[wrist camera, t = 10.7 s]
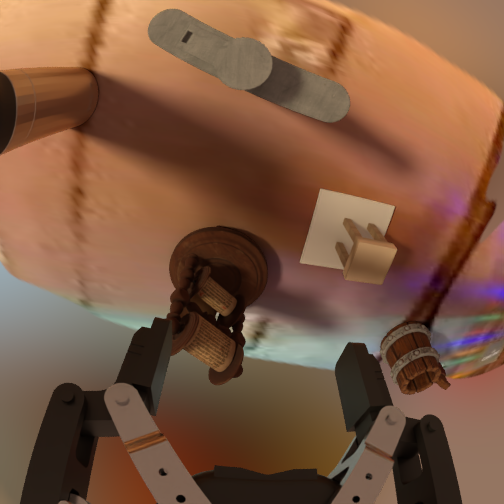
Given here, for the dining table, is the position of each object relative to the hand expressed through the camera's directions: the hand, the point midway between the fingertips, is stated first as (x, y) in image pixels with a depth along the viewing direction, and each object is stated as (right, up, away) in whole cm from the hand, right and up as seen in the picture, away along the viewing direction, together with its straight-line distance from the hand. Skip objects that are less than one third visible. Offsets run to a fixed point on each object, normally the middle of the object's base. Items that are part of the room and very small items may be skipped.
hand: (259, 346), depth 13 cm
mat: (+14, +7, +31) cm, 34 cm away
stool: (+15, +7, +30) cm, 34 cm away
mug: (+33, -14, +43) cm, 56 cm away
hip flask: (-1, +26, +20) cm, 33 cm away
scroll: (-5, +2, +34) cm, 34 cm away
